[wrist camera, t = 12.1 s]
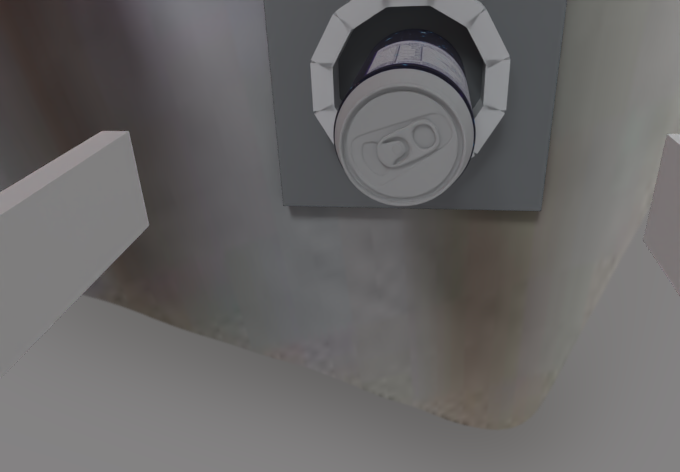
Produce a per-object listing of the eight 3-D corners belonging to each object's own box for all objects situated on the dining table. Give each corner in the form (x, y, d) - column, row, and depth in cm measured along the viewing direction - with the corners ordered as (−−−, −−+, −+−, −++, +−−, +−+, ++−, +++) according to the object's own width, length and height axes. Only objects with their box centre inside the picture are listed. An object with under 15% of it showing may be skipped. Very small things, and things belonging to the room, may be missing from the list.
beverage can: (345, 57, 33) (301, 115, 22) (438, 6, 31) (438, 43, 20) (390, 144, 35) (370, 236, 24) (480, 101, 33) (501, 180, 22)
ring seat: (286, 199, 38) (275, 218, 36) (261, -75, 31) (245, -76, 28) (538, 204, 36) (546, 225, 33) (574, -92, 29) (588, -95, 26)
